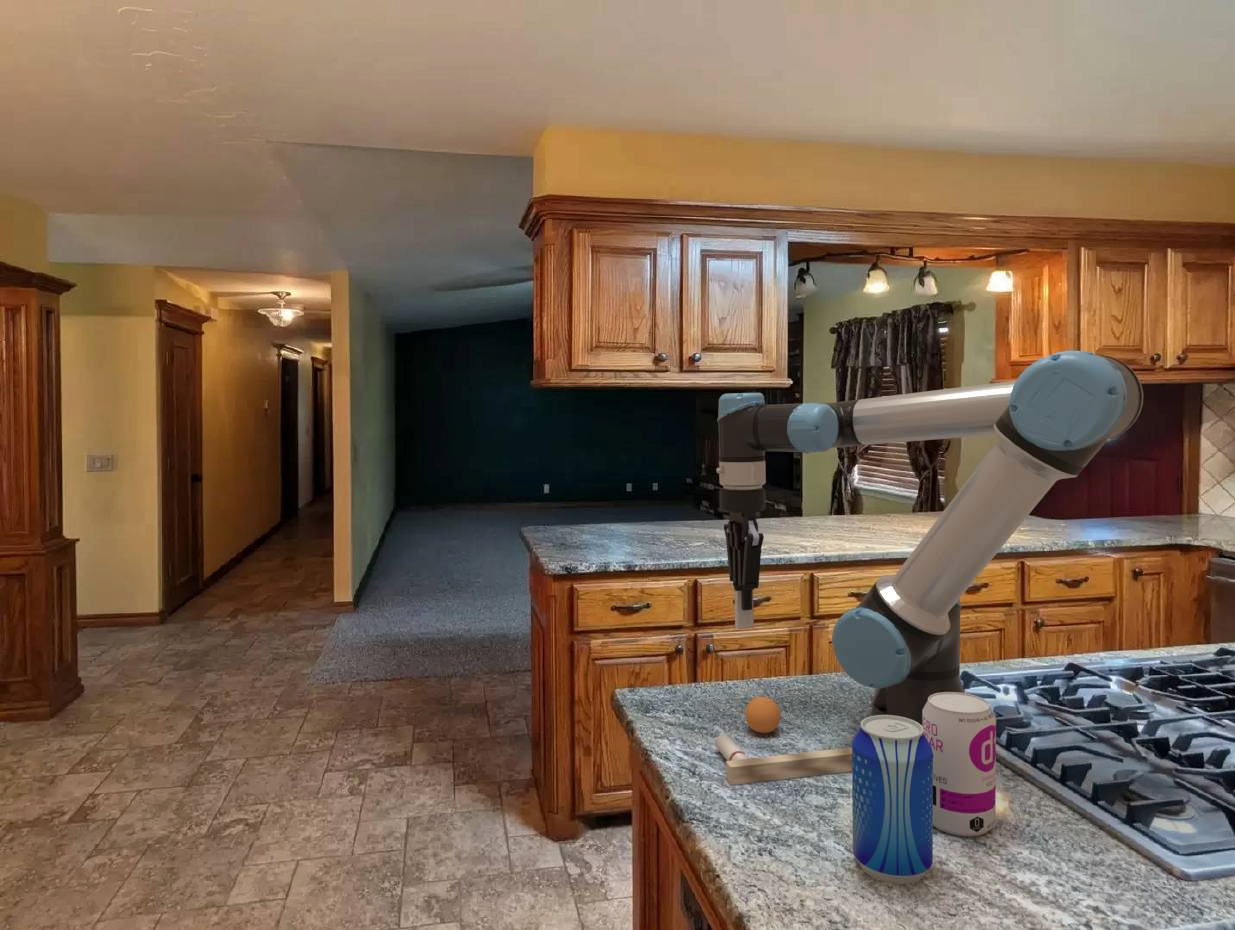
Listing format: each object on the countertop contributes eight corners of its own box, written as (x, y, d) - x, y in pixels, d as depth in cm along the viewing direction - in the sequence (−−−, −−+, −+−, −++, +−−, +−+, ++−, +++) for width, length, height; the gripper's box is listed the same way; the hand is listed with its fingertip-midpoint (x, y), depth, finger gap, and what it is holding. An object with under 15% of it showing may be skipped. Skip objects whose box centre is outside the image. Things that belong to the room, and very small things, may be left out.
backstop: (873, 762, 118) (873, 745, 118) (880, 767, 116) (880, 750, 116) (726, 778, 114) (725, 761, 114) (730, 785, 112) (730, 767, 112)
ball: (791, 705, 128) (781, 722, 132) (761, 683, 130) (753, 701, 134) (773, 729, 125) (764, 746, 129) (743, 707, 127) (735, 724, 131)
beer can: (939, 891, 86) (939, 743, 85) (856, 884, 88) (855, 739, 87) (925, 849, 95) (925, 713, 93) (850, 843, 96) (849, 710, 95)
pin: (730, 733, 123) (752, 757, 114) (731, 749, 123) (753, 774, 115) (714, 735, 123) (735, 759, 114) (715, 751, 123) (736, 777, 114)
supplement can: (1008, 824, 100) (1009, 703, 99) (968, 846, 95) (969, 719, 94) (948, 799, 106) (949, 685, 105) (908, 818, 102) (908, 700, 101)
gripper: (708, 484, 141) (711, 619, 143) (733, 491, 129) (735, 639, 130) (750, 482, 143) (752, 616, 144) (778, 489, 130) (780, 636, 132)
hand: (744, 627), depth 137 cm, fingers closed
